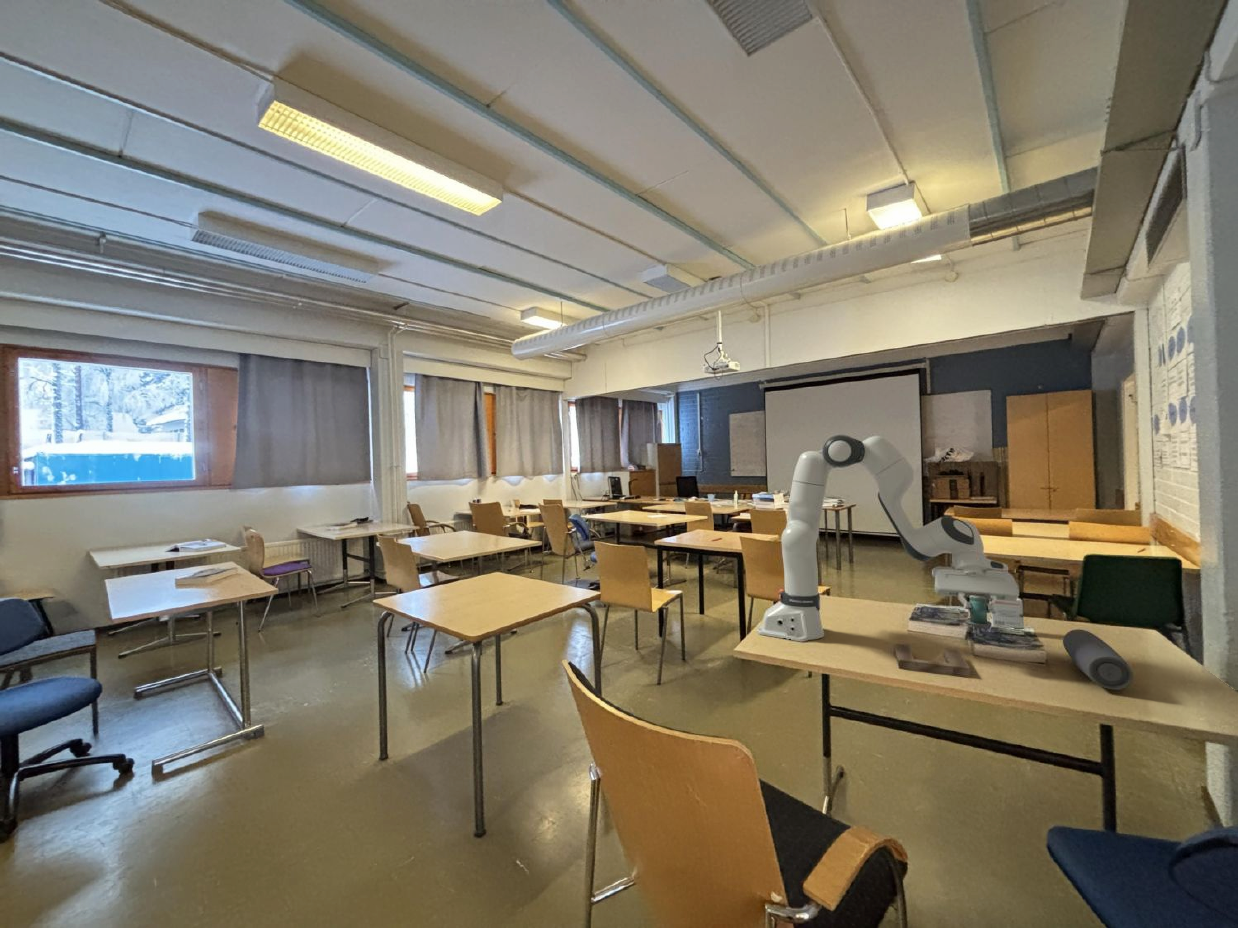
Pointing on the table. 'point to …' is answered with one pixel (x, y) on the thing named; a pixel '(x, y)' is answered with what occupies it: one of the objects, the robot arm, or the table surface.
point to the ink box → (1007, 614)
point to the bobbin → (978, 612)
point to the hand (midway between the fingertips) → (979, 609)
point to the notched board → (951, 667)
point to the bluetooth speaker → (1097, 660)
